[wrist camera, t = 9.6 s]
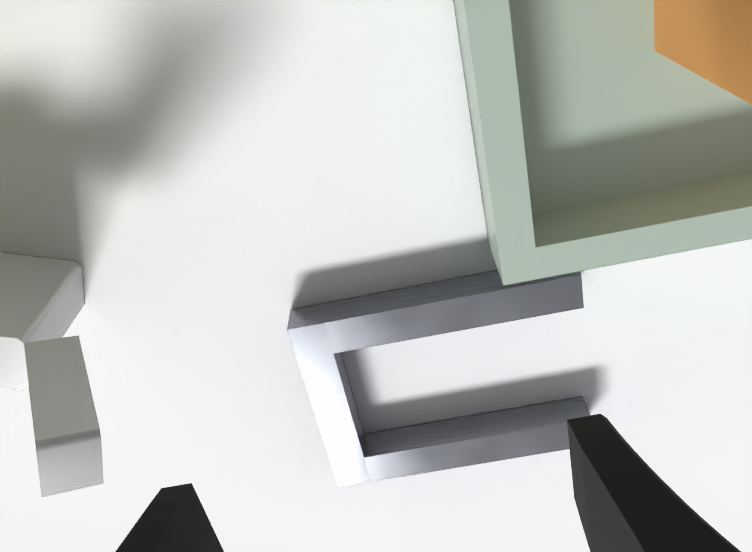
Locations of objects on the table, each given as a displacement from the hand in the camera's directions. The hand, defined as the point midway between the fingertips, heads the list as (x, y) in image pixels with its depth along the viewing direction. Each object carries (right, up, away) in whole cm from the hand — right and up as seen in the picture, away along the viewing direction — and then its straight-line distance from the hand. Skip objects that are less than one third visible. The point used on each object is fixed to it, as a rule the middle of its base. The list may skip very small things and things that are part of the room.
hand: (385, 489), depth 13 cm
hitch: (+3, +1, +11) cm, 11 cm away
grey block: (-10, +4, +9) cm, 14 cm away
